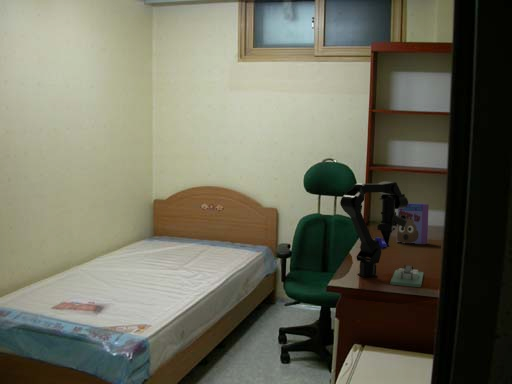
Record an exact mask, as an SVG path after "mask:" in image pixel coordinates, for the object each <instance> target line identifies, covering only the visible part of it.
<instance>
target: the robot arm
mask: <svg viewBox="0 0 512 384" xmlns="http://www.w3.org/2000/svg"><path fill="white" fill-rule="evenodd" d="M367 193H379V194H382V195H381V196H380V197H378V200H381V201H382V203H381V211H380V214H381V220H380V223H379V224H377V225H376V226H377V228H376V230H377V231H380V233H381V236H382V239H383V238H384V241H385V243H386V244H389V245H390V241H391V237H392V234H393V232H394V231H395V230H397V226H398V225H400V226H402V227H405V226H406V224H407V222H408V219H406V216H404V215H402V216H401V217H400V216H398V214H397V212H396V210H398V209H403V208H406V207H407V206H408V204H409V200H408V198H407V197H406V195H405V193H402V192H401V189H400V187H399V185H398V183H397V182H396V181H385V180H384V181H380V182H379V183H359V182H358V183H355V184H354V185H353V187H352V188H350V189H349V190H347V191H346V192H345V193H344V195H343V196H342V197H341V199H340V200H339V201H340V202H339V203H340V206H341V208H342V209H343V211H344V212H345V213H346V214H347V216H349V217H350V219H351V222H352V224H353V226H354V229H355V231H356V233H357V236H358V239H359V241H360V245H359V246H360V247H359V248H360V249H359V250H360V251H358V253H357V255H356V261H357V262H359V273H357V274H356V275H357V276H360V277H363V278H367V279H368V278H375V277H378V274H377V264H379V262H380V259H381V257H382V249H381V246H380V244H379V241H378V240H375V238H374V239H373V238H372V234H371V232H370V231H369V228H368V225H367V224H366V221H365V219H364V216H363V213H362V210H363V202H364V201H365V197H366V194H367ZM357 194H358V195H357Z"/></svg>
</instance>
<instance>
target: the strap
mask: <svg viewBox="0 0 512 384" xmlns="http://www.w3.org/2000/svg"><path fill="white" fill-rule="evenodd" d="M411 269H412V265H406V269H405V271H403V273H406V274H410V273H411V271H410V270H411Z"/></svg>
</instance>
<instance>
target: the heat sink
mask: <svg viewBox="0 0 512 384" xmlns="http://www.w3.org/2000/svg"><path fill="white" fill-rule="evenodd" d="M403 266H404V267H403V268H402V267H401V268H400V267H399V268H398V269H397V270H398V272H397V278H401V279H411V280H417V277H418V272H419V269H415V267H414V265H411V270H410V271H411V273H410V274H406V273H403V271H405V269H406V266H407V264H404V265H403Z"/></svg>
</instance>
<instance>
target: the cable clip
mask: <svg viewBox="0 0 512 384" xmlns="http://www.w3.org/2000/svg"><path fill="white" fill-rule="evenodd" d="M374 240H378V241H379V244H380V246H381V248H383V249H385V248H384V247H387V248H388V246H387V245H389V246H390V243H389V244H386V243H385V241H384V238H383V237H376V236H375V238H374Z"/></svg>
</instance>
